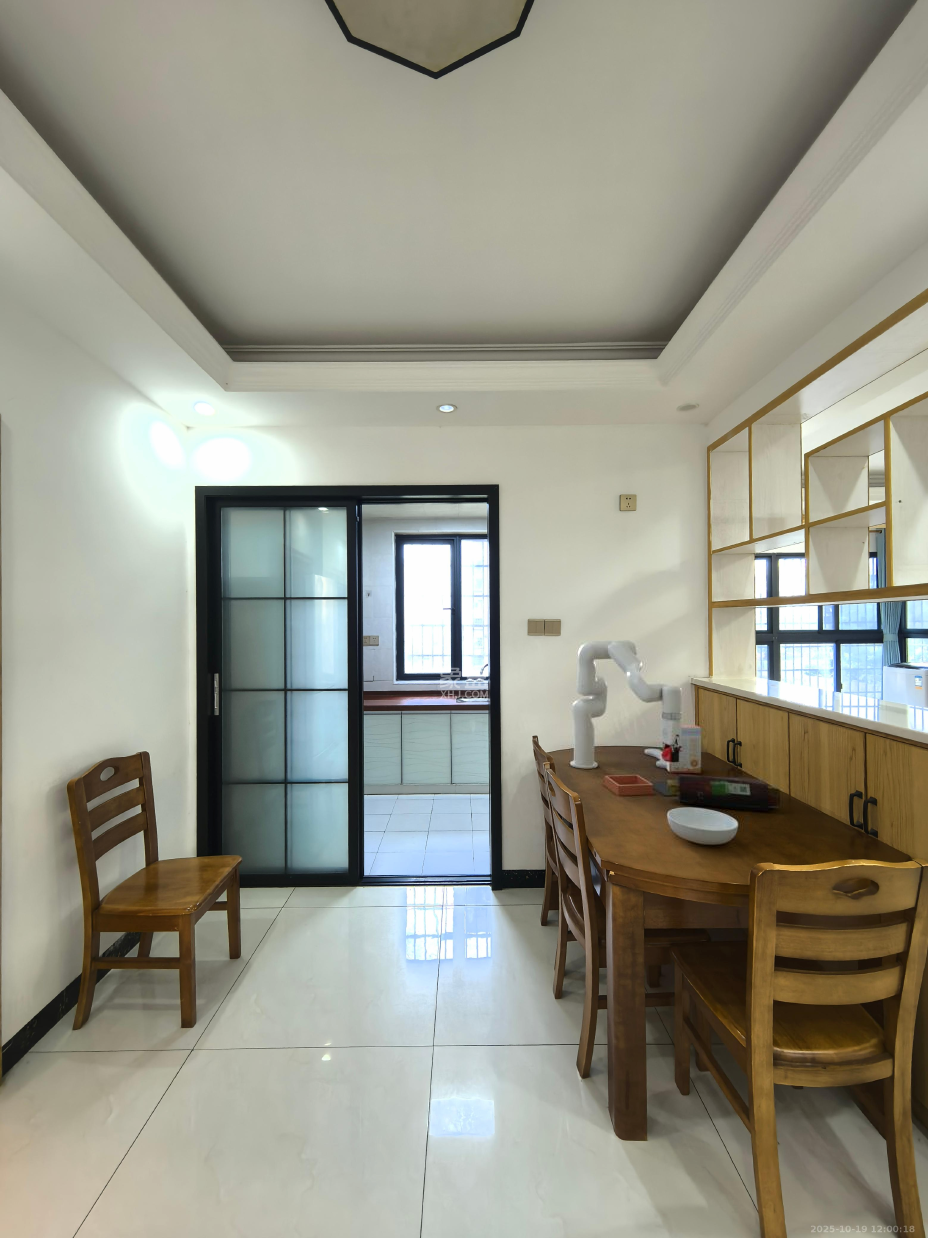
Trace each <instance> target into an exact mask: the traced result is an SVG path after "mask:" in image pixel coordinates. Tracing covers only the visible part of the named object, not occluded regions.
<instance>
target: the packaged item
mask: <svg viewBox="0 0 928 1238" xmlns="http://www.w3.org/2000/svg"><path fill="white" fill-rule="evenodd" d="M666 782H667V787H666V789H667V791H668V793H669V794H674V795H677V796H676V797H677V801H678V802H679V803H680V804H684V805H697V806H702V807H716V808H726V809H733V810H741V811H752V812H765V813H767V812H769V809H778V808H779V807H780V804H781V801H780V800H781V789H779V787H777V786H775V785H768V784H767V783H766V782H765V781H764V780H762V779H756V778H748V777H747V778H746V777H728V776H727V777H726V776H707V775H695V774H694V775H692V774H681V773H677V780H676V779H675V780H672V779H666Z"/></svg>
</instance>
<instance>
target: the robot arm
mask: <svg viewBox="0 0 928 1238" xmlns="http://www.w3.org/2000/svg"><path fill="white" fill-rule="evenodd" d="M637 655H638V647H637V645H636V644H635V643H634V642H633V641H631V640H593V641H587V642H585V643H583V644H582V645H581V646H580V647H579V649H578V652H577V661H578V662H577V664H578V665H577V675H576V677H577V678H576V691H577V694H579V695H580V696H583V697H584V698H580V699H577V700H575V701H574V702H573V703H572V707H571V712H572V718H573V719H572V720H573V760H572V761H570V763H569V765H570V766H571V767H573V768H576V769H583V770H584V769H586V770H587V769H590V770H591V769H596V768H597V767H598V762H596V761H595V725H594V722H593V719H594V718H596V719H597V718H599V717H602V716H603V715H604V714H605V713H606V710H607V703H608V687H609V686H608V682H607V680H606V679H605V677H604V676H603V675H600V674H597V664H596V662H595V660H612V661H613V662H615V664H616V665H617V666H618V667H619V668H620V670H622V672H623V673H624V674H625V675H626V680H627V681H626V682H627V685H628V687H629V689H630V690H631V691H632V692H633V693H634V695H635V696H636V697H637V698H638V699H639V700H640V701H642V702H644V703H646V704H647V703H648V704H649V703H657V702H661V720H660V721H661V722H660V731H659V740H660V742H662V749H663V751H664V750H665V749H667V748H669V747H671V748H672V752H671V762H679V752H680V749H681V747H682V744H681V742H682V730H681V725H682V723H681V722H682V705H683V703H682V697H683V696H682V695H683V693H682V688H681V687H680V686H678V685H667V684H665V683H660V682H659V683H647V682H646V680H644V678H643V677H642V676H641V674H640V671H641V670H642V668H643V662H642V661H641V659H639V658H638V657H637ZM674 743H675V744H674ZM674 746H676V747H675V748H674Z"/></svg>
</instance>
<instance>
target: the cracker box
mask: <svg viewBox="0 0 928 1238" xmlns="http://www.w3.org/2000/svg"><path fill="white" fill-rule="evenodd" d="M681 730H682V742H681V744H682V747H681V749H680V750H681V751H682V752H679V762H675V763H674V762H667V769H666V770H667V771H668V772H669V773H675V774H676V773H677V774H702V727H700V726H698V725H686V724H685V725H684V724H681ZM674 744H675V743H674ZM674 747H676V746H674Z"/></svg>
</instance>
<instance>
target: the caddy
mask: <svg viewBox="0 0 928 1238" xmlns="http://www.w3.org/2000/svg"><path fill="white" fill-rule="evenodd" d="M650 782H651V781H649V780H646V779H645V778H644V777H641V776H640V775H639V774H621V775H620V774H619V775H604V782H603V783H604V786H605V787H606V788H608V790H610V791H612V792H613V793H614V794H616V795H617V796H619V797H621V796H646V795H649V796H650V795H654V789H653V784H651V783H650Z"/></svg>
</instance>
